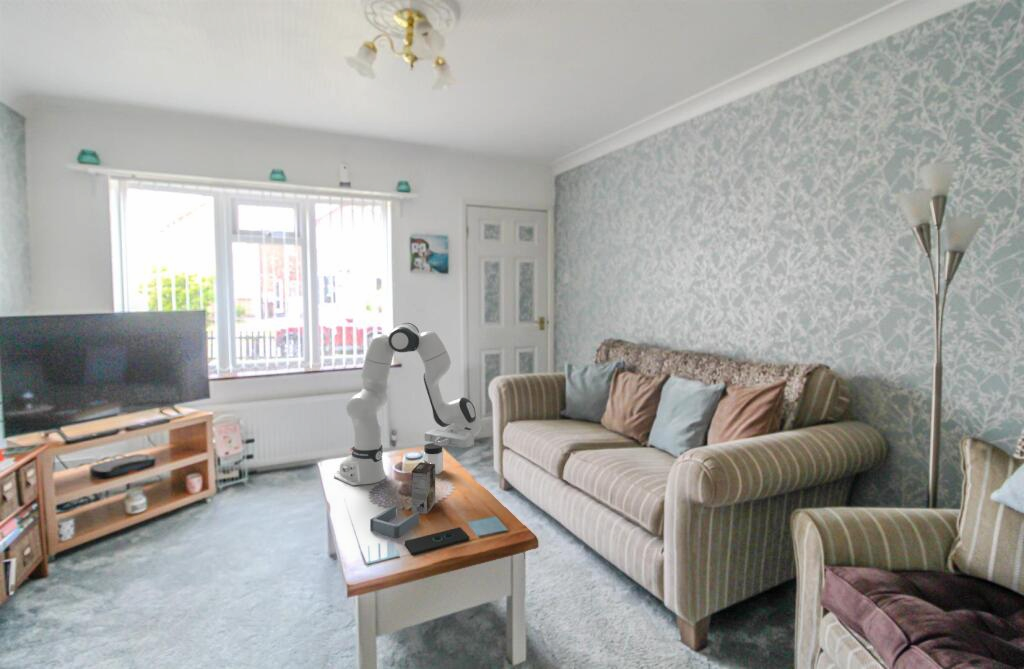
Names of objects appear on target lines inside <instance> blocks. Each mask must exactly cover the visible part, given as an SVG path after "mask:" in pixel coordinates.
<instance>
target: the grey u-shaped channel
mask: <svg viewBox="0 0 1024 669" xmlns="http://www.w3.org/2000/svg"><path fill="white" fill-rule="evenodd" d="M396 517H397V505H392V506H390V507H389V508H387V509H385V510H384V511H382V512H380V513H378V514H377V515H375V516H374V517H371V518H370V525H369V527H370V528H369V530H370V531H372V532H374V533H377V534H381V535H384V536H387V537H391V538H393V539H396V540H398V539H399V538H400V537H401V536H403V535H404V534H406V533H407V532H408V531H410V530H411V529H413V528H414V527H416V526H417V525H418V524H419V523H420V513H419V512H412V514H410V515H409V516H407V517H406V518H405V519H403V520H401V521H400V522H398V523H397V524H396V523H392V522H391V521H392V520H393V519H395V518H396Z"/></svg>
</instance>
